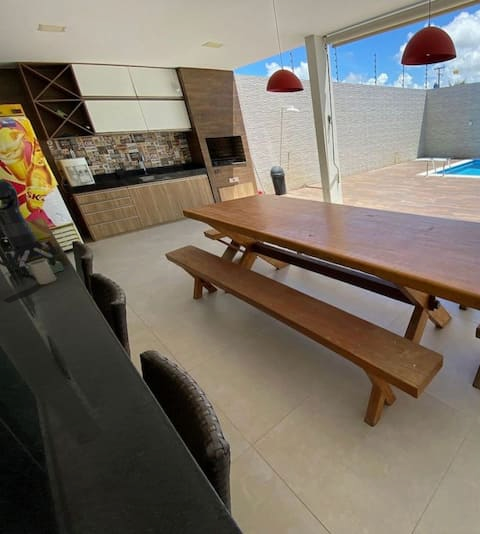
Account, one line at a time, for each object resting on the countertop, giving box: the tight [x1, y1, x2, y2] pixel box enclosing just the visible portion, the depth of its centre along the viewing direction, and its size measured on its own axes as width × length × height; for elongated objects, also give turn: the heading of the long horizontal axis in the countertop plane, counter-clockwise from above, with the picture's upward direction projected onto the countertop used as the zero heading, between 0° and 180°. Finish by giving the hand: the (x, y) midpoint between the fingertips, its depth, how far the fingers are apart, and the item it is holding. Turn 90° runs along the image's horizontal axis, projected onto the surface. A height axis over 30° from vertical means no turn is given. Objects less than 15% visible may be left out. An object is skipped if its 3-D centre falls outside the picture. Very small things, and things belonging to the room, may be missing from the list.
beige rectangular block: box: [28, 258, 58, 285], centre depth 128 cm, size 6×6×9 cm
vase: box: [25, 254, 42, 263], centre depth 149 cm, size 7×7×9 cm
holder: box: [24, 257, 66, 277], centre depth 139 cm, size 8×16×4 cm, turn 66°
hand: (40, 269), depth 127 cm, fingers open, 8 cm apart
